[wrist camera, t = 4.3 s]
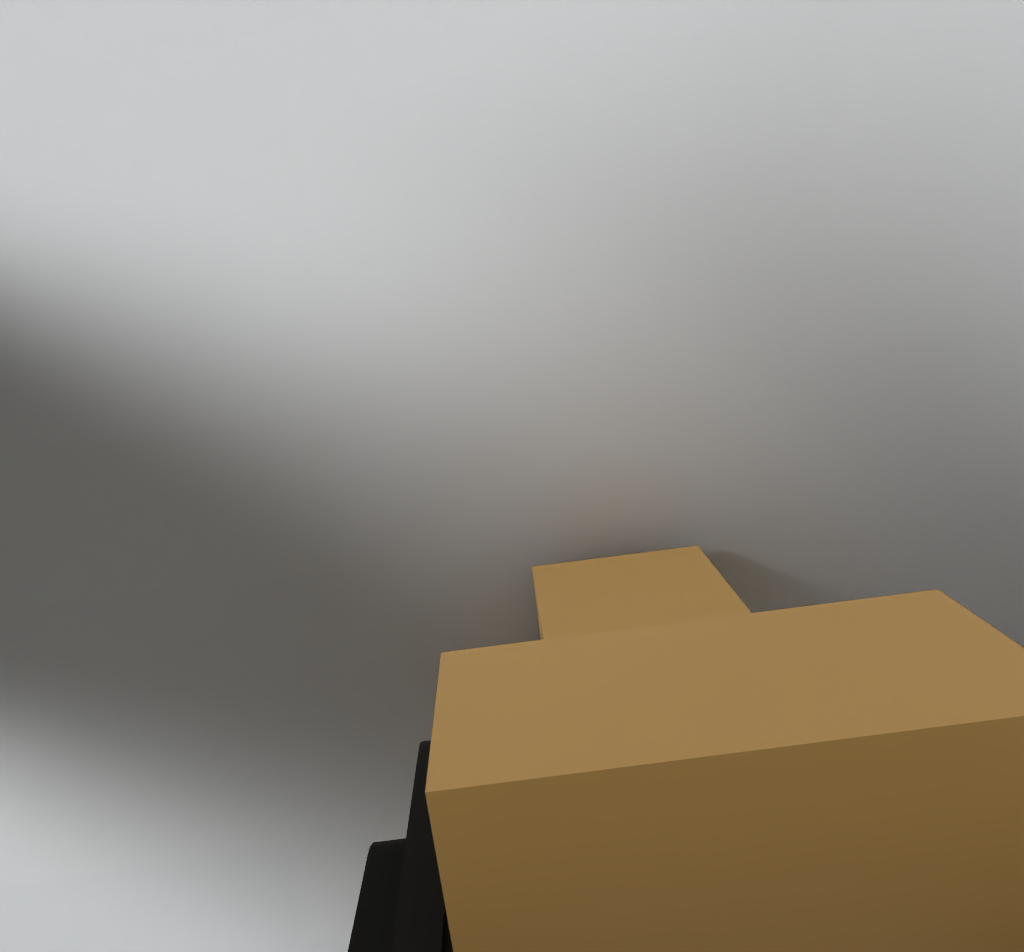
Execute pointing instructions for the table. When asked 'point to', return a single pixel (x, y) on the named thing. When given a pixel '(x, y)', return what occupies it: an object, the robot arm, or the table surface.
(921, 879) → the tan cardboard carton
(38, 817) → the table surface
